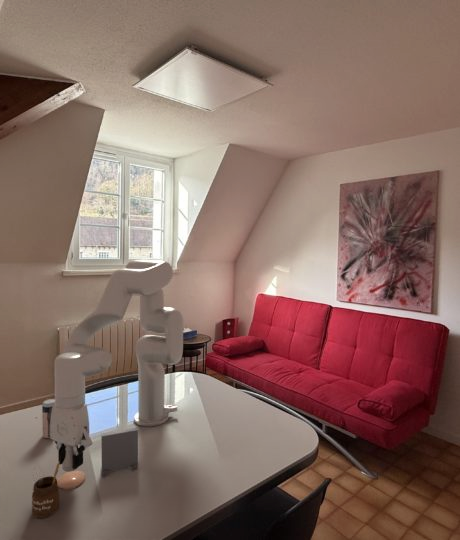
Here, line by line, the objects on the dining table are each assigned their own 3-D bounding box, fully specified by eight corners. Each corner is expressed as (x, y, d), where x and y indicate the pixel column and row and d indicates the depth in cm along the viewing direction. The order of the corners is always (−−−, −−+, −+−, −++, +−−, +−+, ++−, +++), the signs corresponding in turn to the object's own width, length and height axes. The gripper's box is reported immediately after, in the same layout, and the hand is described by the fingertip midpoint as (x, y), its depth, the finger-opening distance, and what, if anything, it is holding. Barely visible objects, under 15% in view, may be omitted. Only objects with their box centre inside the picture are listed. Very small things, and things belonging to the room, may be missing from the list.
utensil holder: (38, 501, 92) (38, 456, 91) (64, 501, 92) (63, 455, 92) (27, 519, 86) (26, 470, 85) (54, 518, 87) (53, 470, 86)
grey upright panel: (136, 459, 110) (136, 424, 110) (138, 469, 106) (138, 432, 105) (101, 467, 107) (101, 430, 106) (102, 477, 102) (102, 439, 101)
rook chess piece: (66, 474, 97) (66, 445, 96) (59, 467, 100) (58, 439, 99) (82, 467, 100) (82, 439, 100) (74, 460, 103) (74, 433, 103)
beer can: (51, 440, 121) (51, 404, 120) (39, 438, 122) (38, 403, 121) (61, 432, 125) (60, 398, 125) (49, 431, 126) (48, 397, 125)
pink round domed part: (84, 470, 105) (84, 468, 105) (85, 485, 98) (85, 483, 98) (58, 475, 102) (57, 473, 102) (56, 491, 96) (56, 489, 96)
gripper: (35, 398, 99) (36, 464, 100) (83, 410, 92) (84, 480, 93) (58, 389, 105) (59, 450, 107) (104, 399, 99) (104, 464, 100)
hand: (70, 463), depth 100 cm, fingers closed on rook chess piece, 4 cm apart
